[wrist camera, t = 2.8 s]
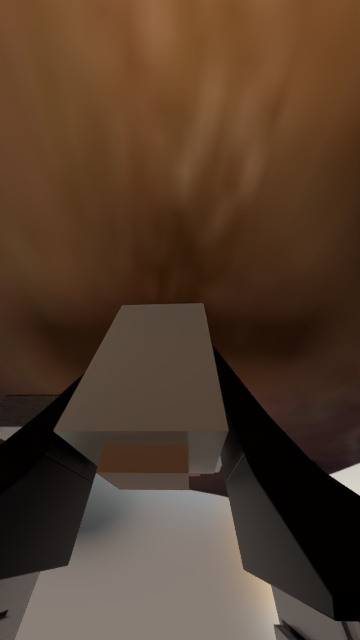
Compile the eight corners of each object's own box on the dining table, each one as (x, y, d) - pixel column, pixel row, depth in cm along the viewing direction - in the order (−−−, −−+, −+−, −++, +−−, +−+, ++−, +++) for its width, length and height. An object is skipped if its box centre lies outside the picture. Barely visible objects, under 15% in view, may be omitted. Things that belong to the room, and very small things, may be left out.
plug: (203, 303, 9) (234, 462, 4) (200, 357, 11) (215, 495, 6) (122, 305, 9) (36, 461, 4) (137, 358, 12) (100, 493, 6)
